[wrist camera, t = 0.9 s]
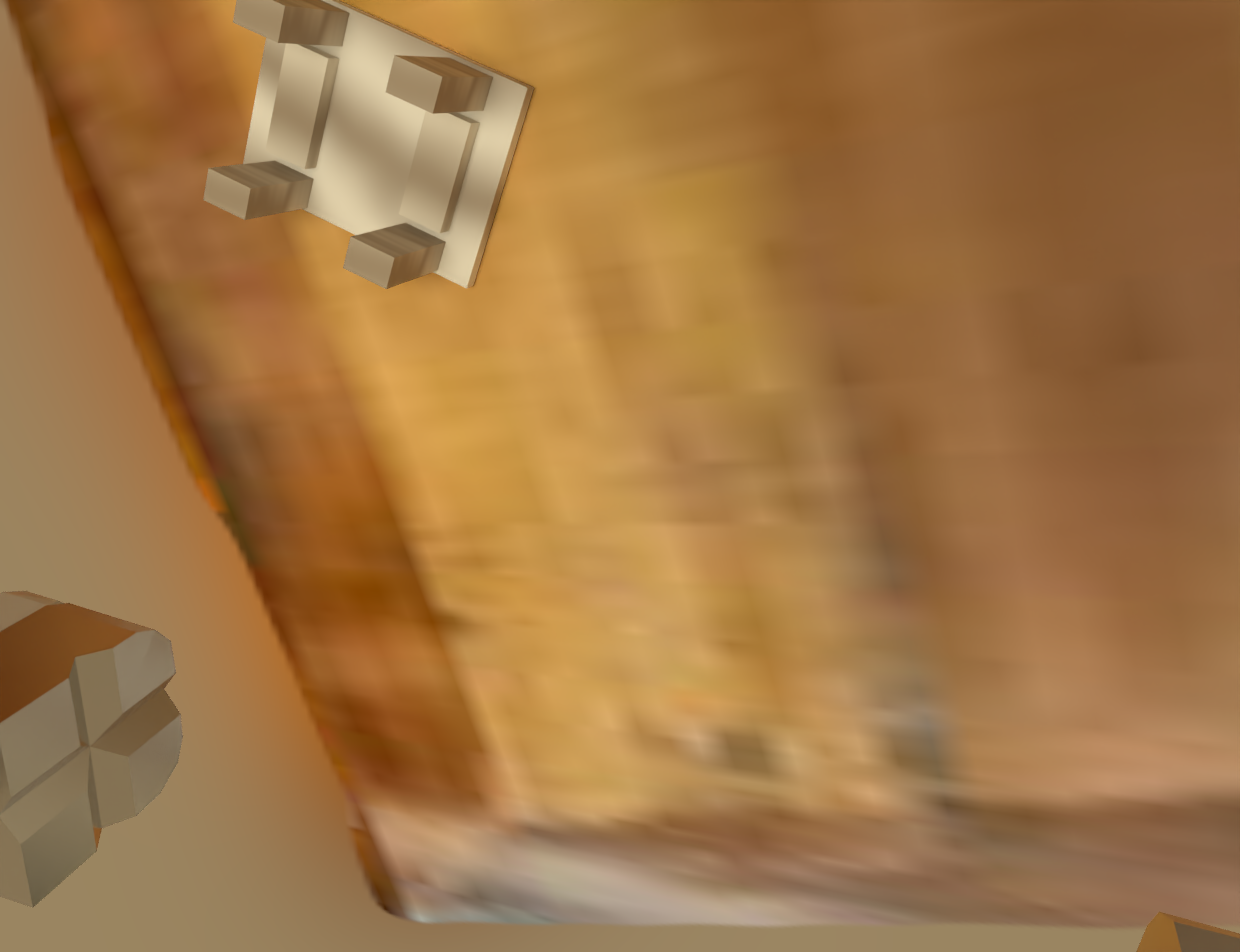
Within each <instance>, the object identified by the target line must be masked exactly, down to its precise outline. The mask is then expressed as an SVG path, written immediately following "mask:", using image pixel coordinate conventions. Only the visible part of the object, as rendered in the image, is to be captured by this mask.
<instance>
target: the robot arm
mask: <svg viewBox="0 0 1240 952" xmlns="http://www.w3.org/2000/svg"><path fill="white" fill-rule="evenodd" d="M175 673H176V670H175V664H174V657H173V651H172V645H171V641H170V640H169V639H167V638H166V637H165V636H163V635H162V634H160V633H159V632H157V631H156V630H154V629H151V628H147V627H144V626H141V625H138V624H135V623H131V622H128V621H125V620H122V619H118V618H115V617H111V616H109V615H105V614H102V613H99V612H96V611H93V610H89V609H86V608H83V607H80V606H76V605H73V604H70V603H66V604H65V603H62V602H60V601H57V600H54V599H50V598H47V597H43V596H41V595H37V594H34V593H30V592H28V591H13V592H2V593H0V897H3V898H6V899H9V900H12V901H15V902H18V903H21V904H24V905H27V906H30V907H34V906H35V905H36V904H38V903H39V902H40V901H41V900H42V899H43V898H44V897H46V896H47V895H48V894H49V893H50V892H51V891H52V890H53V889H55V888H56V887H57V886H58V885H59V884H60V883H61V882H62V881H63V880H65V879H66V878H67V877H68V876H69V875H70V874H71V873H73V872H74V871H75V870H76V869H77V868H78V867H79V866H80V865H82V864H83V863H84V862H85V861H86V860H87V859H88V858H89V857H91V855H93V854H94V853H95V852H96V851H97V847H98V843H99V838H100V834H101V829H102V828H104V827H107V826H110V825H112V824H115V823H118V822H120V821H123V820H126V819H129V818H132V817H134V816H137V815H138V814H139V813H140V812H141V811H142V810H143V809H144V808H145V807H146V806H147V805H148V804H149V803H150V802H151V801H153V800H154V799H155V798H156V797H157V796H158V795H159V794H160V793H161V791H162V789H163V788H164V786H165V784H166V782H167V781H168V779H169V777H170V775H171V773H172V772H173V770H174V768H175V767H176V765H177V763H178V759H179V753H180V748H181V743H182V737H183V736H182V725H181V714H180V713H179V711H178V710H177V708H176V706H175V705H174V704H173V702H172V700H171V699H170V697H169V696H168V694H167V693H166V691H165V690H164V688H165V687H166V686H167V684H168V683H169V681H170V680H171V679H172V677H173V676H174V675H175ZM1137 952H1240V934H1239V933H1235V932H1231V931H1228V930H1224V929H1221V928H1217V927H1213V926H1210V925H1206V924H1203V923H1199V922H1195V921H1192V920H1188V919H1184V918H1181V917H1177V916H1173V915H1170V914H1166V913H1162V912H1159V913H1158V914H1157V915H1156V916H1155V917H1154V918H1153V920H1152V921H1151V922H1150V923H1149V924H1148V925H1147V928H1146V930H1145V932H1144V935H1143V937H1142V940H1141V942H1140V945H1139V947H1138V949H1137Z"/></svg>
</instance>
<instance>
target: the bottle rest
mask: <svg viewBox="0 0 1240 952" xmlns="http://www.w3.org/2000/svg"><path fill="white" fill-rule="evenodd" d="M233 23H235V24H238V25H240V26H242V27H244V28H246V29H249V30H251V31H253V32H255V33H257V34H260V35H262V36H264V37H266V42H265V47H264V53H263V58H262V64H261V69H260V75H259V80H258V86H257V91H256V97H255V102H254V108H253V113H252V119H251V124H250V129H249V135H248V140H247V146H246V151H245V157H244V162H243V164H240V165H231V166H223V167H214V168H209V169H208V175H207V181H206V187H205V193H204V199H203V200H205V201H207V202H209V203H211V204H213V205H215V206H217V207H219V208H221V209H223V210H225V211H227V212H229V213H232V214H234V215H236V216H238V217H240V218H242V219H244V220H247V219H252V218H257V217H262V216H267V215H273V214H278V213H283V212H288V211H293V210H298V209H303V210H305V211H307V212H309V213H311V214H313V215H315V216H317V217H319V218H322V219H324V220H326V221H328V222H330V223H332V224H334V225H336V226H338V227H340V228H342V229H344V230H346V231H349V232H351V233H353V234H355V236H351V237H350V242H349V246H348V250H347V254H346V258H345V262H344V267H343V268H344V269H346V270H348V271H350V272H352V273H355V274H357V275H359V276H361V277H363V278H365V279H367V280H369V281H371V282H373V283H375V284H377V285H379V286H381V287H383V288H385V289H388V288H390V287H393V286H396V285H399V284H401V283H404V282H407V281H410V280H413V279H415V278H418V277H421V276H424V275H426V274H429V273H432V272H434V273H436V274H438V275H440V276H442V277H444V278H446V279H448V280H450V281H452V282H454V283H456V284H459V285H461V286H463V287H465V288H469V287H471V286H473V285H474V282H475V279H476V275H477V272H478V269H479V266H480V262H481V259H482V256H483V253H484V249H485V246H486V243H487V240H488V236H489V233H490V230H491V227H492V223H493V220H494V217H495V214H496V210H497V207H498V204H499V201H500V197H501V194H502V191H503V187H504V184H505V181H506V178H507V174H508V171H509V168H510V165H511V161H512V158H513V155H514V152H515V148H516V145H517V142H518V139H519V135H520V132H521V129H522V126H523V122H524V119H525V116H526V113H527V109H528V106H529V103H530V100H531V96H532V93H533V90H534V87H531V86H529V85H527V84H525V83H522V82H520V81H518V80H516V79H514V78H511V77H509V76H507V75H505V74H502V73H500V72H498V71H496V70H493V69H491V68H489V67H487V66H484V65H482V64H480V63H478V62H475V61H473V60H471V59H469V58H467V57H464V56H462V55H460V54H458V53H455V52H453V51H451V50H449V49H446V48H444V47H442V46H440V45H437V44H435V43H433V42H431V41H428V40H426V39H424V38H422V37H420V36H417V35H415V34H413V33H411V32H408V31H406V30H404V29H402V28H399V27H397V26H395V25H393V24H390V23H388V22H386V21H384V20H381V19H379V18H377V17H375V16H373V15H370V14H368V13H366V12H364V11H361V10H359V9H357V8H355V7H352V6H350V5H348V4H346V3H343V2H341V1H339V0H237V2H236V7H235V13H234V19H233Z"/></svg>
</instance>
